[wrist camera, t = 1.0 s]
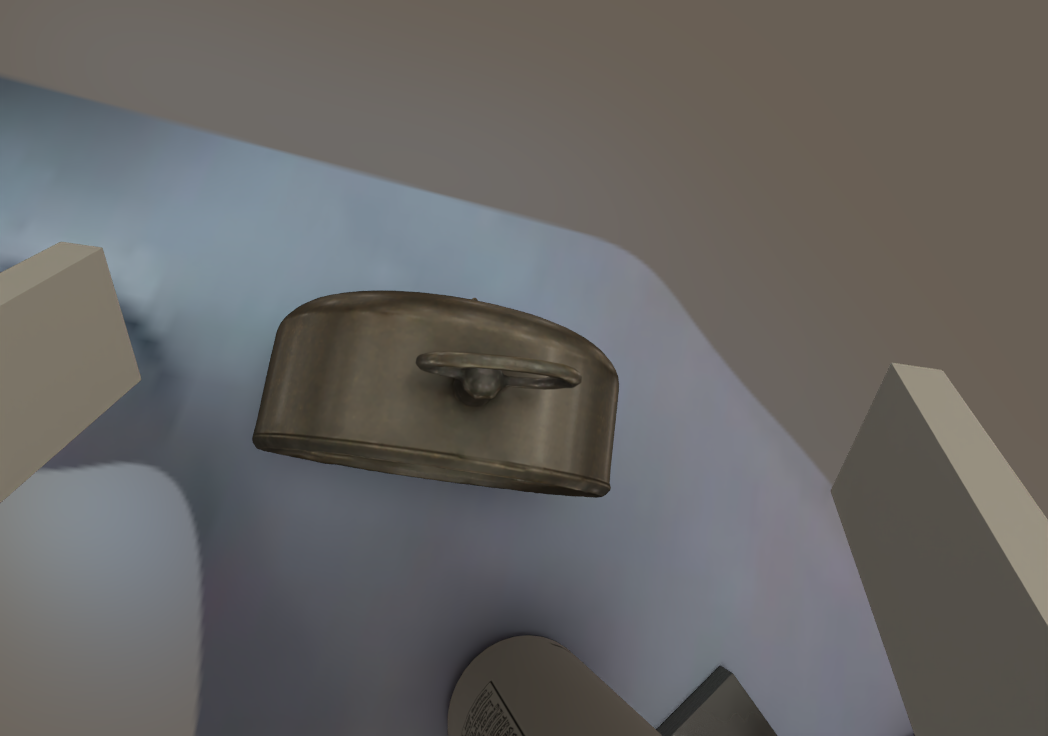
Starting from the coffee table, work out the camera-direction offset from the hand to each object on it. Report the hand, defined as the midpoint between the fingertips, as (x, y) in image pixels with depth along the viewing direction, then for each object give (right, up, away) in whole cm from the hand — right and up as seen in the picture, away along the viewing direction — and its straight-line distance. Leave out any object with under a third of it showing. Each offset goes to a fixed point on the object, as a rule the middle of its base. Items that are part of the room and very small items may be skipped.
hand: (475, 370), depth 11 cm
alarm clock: (-3, -2, +16) cm, 17 cm away
